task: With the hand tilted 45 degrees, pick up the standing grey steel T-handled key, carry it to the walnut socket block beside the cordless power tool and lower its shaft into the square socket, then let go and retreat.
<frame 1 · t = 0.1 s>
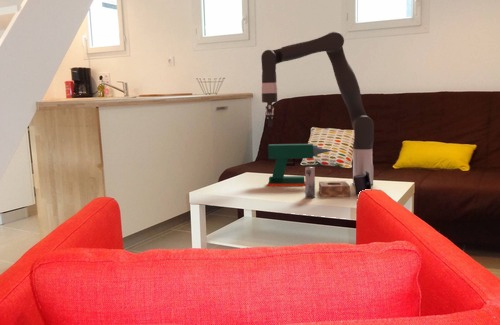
hand: (270, 126, 227), 29 cm above the table, tool pointing down, fingers open, 8 cm apart
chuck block: (333, 193, 205), on the table
chuck key: (310, 197, 199), on the table
speaker: (362, 195, 202), on the table
power tool: (300, 184, 230), on the table
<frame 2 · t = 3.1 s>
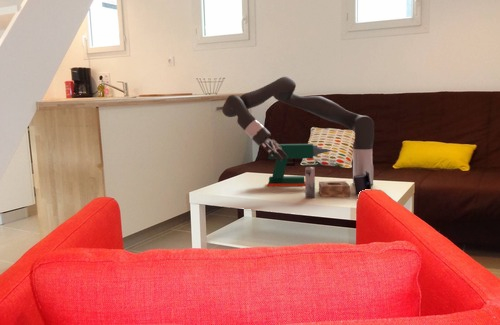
hand: (283, 159, 200), 16 cm above the table, tool tilted 45°, fingers open, 8 cm apart
nothing on the table moved.
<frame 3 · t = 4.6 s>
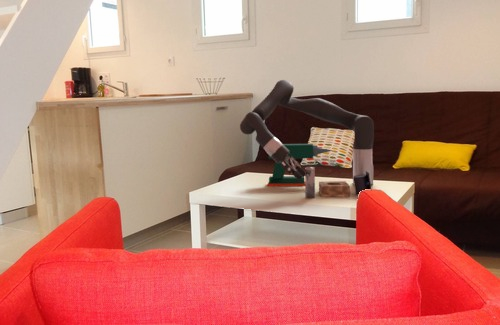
hand: (302, 176, 198), 9 cm above the table, tool tilted 45°, fingers open, 8 cm apart
nothing on the table moved.
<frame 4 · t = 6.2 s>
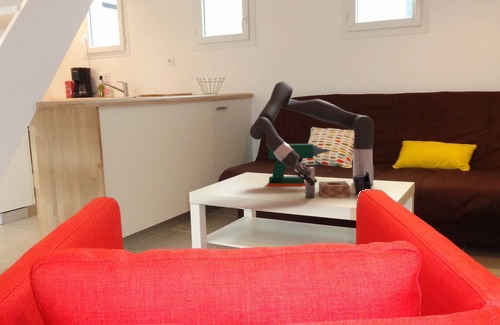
hand: (314, 183, 198), 6 cm above the table, tool tilted 45°, fingers closed on chuck key, 4 cm apart
chuck key: (310, 197, 199), on the table, touching gripper
everything else where it was.
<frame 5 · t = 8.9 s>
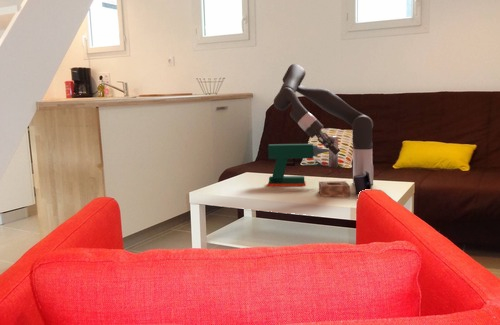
hand: (337, 152, 202), 18 cm above the table, tool tilted 45°, fingers closed on chuck key, 4 cm apart
chuck key: (333, 166, 204), point 12 cm above the table, touching gripper
everything else where it was.
when the fingers open (8 cm above the table, at t = 11.6 s): chuck key stays where it is, resting on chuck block.
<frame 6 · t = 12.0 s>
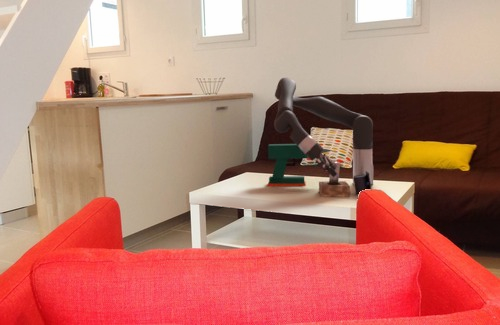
hand: (336, 174, 204), 9 cm above the table, tool tilted 45°, fingers open, 8 cm apart
chuck key: (332, 191, 206), point 1 cm above the table, tilted 6°, touching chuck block, gripper
everything else where it was.
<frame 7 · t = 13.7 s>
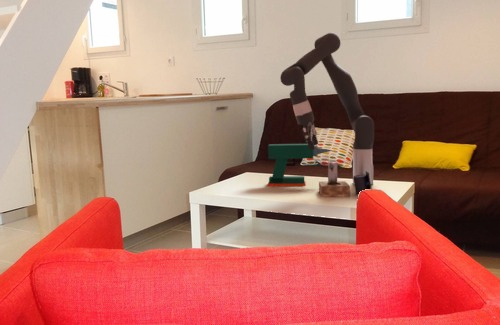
hand: (314, 146, 207), 21 cm above the table, tool tilted 15°, fingers open, 8 cm apart
chuck key: (332, 191, 206), point 1 cm above the table, touching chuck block
everything else where it was.
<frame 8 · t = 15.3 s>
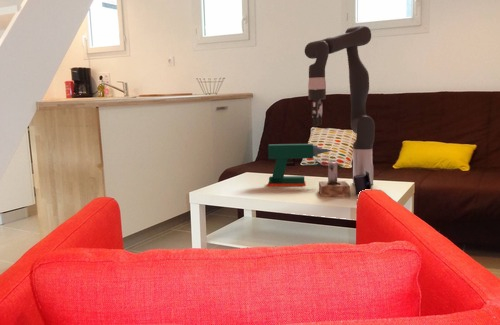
hand: (317, 125, 204), 30 cm above the table, tool pointing down, fingers open, 8 cm apart
nothing on the table moved.
at the end: chuck key 0.9 cm off-centre on the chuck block, point 0.8 cm above the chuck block's base; chuck key tilted 0°; the gripper is holding nothing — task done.
